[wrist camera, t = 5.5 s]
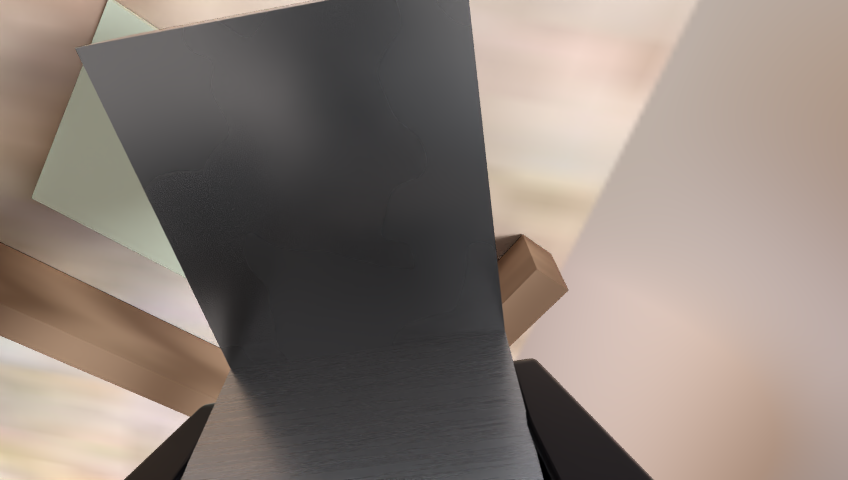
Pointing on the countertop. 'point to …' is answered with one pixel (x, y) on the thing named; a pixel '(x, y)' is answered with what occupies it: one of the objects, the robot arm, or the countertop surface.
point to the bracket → (330, 236)
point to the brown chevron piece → (178, 350)
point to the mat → (102, 164)
